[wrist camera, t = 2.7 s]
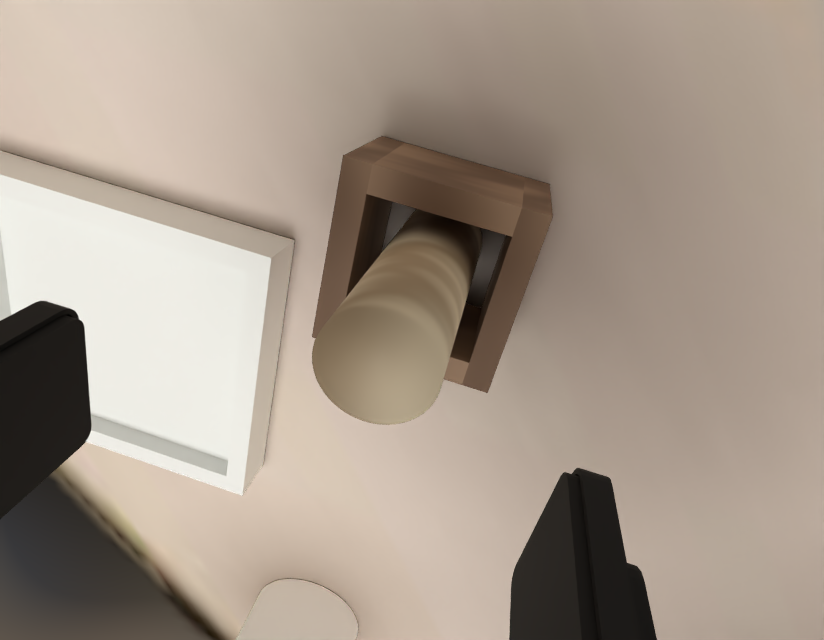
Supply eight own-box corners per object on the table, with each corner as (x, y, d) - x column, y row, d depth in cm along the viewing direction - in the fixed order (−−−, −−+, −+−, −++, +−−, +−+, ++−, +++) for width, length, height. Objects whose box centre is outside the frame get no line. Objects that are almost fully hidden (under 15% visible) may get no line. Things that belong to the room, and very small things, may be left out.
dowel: (491, 214, 23) (459, 331, 13) (469, 286, 24) (424, 440, 14) (413, 191, 23) (323, 290, 13) (396, 264, 24) (303, 401, 15)
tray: (294, 240, 25) (271, 258, 23) (263, 465, 31) (242, 495, 29) (0, 150, 26) (-50, 159, 24) (28, 385, 32) (-9, 409, 30)
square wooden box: (549, 184, 22) (552, 216, 17) (496, 333, 25) (487, 392, 20) (381, 136, 22) (343, 155, 18) (350, 288, 25) (311, 337, 21)
